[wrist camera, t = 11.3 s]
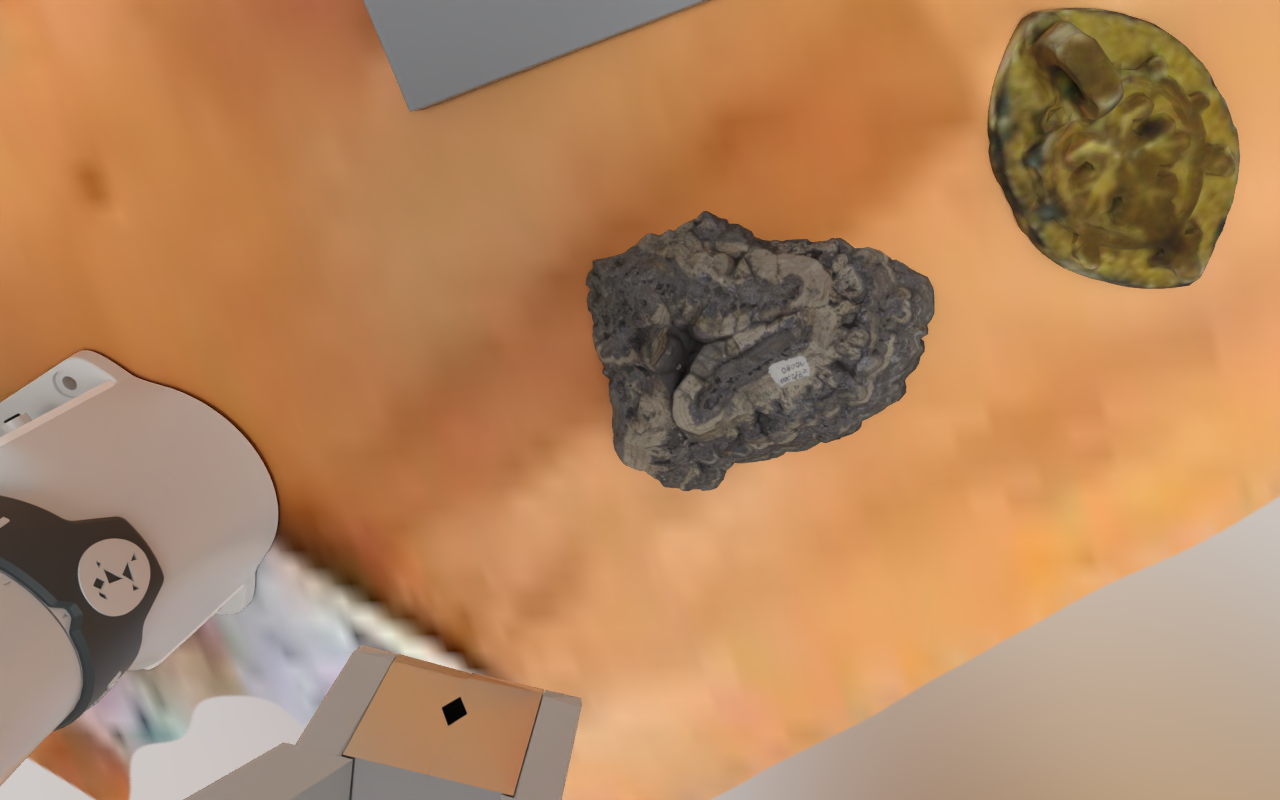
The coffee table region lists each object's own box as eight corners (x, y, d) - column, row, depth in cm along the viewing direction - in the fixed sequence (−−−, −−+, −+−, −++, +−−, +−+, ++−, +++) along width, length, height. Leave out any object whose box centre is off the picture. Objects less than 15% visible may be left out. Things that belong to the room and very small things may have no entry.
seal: (1267, 204, 36) (1098, -56, 33) (1353, 215, 32) (1169, -84, 28) (1097, 333, 39) (922, 104, 35) (1156, 361, 34) (962, 101, 31)
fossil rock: (519, 303, 41) (662, 512, 46) (501, 326, 38) (658, 549, 42) (843, 107, 36) (968, 365, 40) (857, 112, 32) (993, 394, 37)
